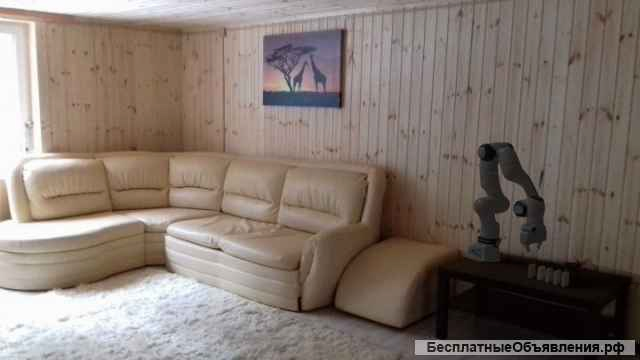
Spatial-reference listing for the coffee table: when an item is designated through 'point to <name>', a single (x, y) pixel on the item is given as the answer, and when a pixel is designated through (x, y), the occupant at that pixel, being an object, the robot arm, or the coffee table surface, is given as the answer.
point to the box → (572, 269)
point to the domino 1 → (531, 270)
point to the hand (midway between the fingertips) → (532, 250)
